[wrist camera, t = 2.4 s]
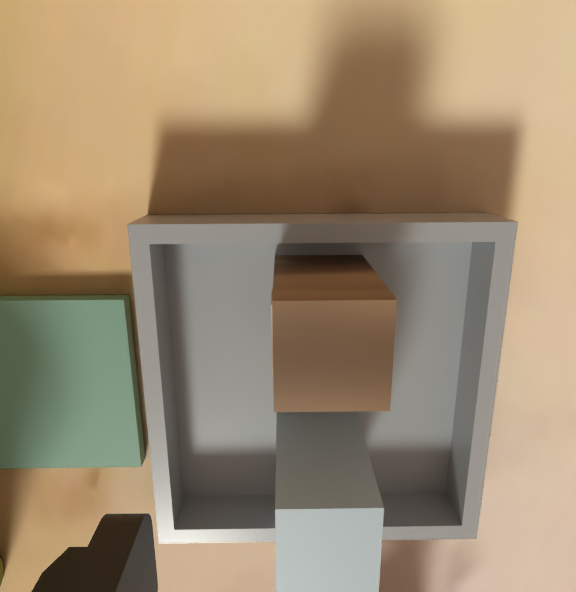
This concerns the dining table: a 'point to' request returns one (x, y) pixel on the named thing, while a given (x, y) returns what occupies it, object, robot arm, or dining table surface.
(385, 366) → the walnut box
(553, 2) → the dining table surface
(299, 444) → the grey-blue box
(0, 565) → the plant pot
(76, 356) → the coaster
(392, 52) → the dining table surface
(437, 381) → the bin
